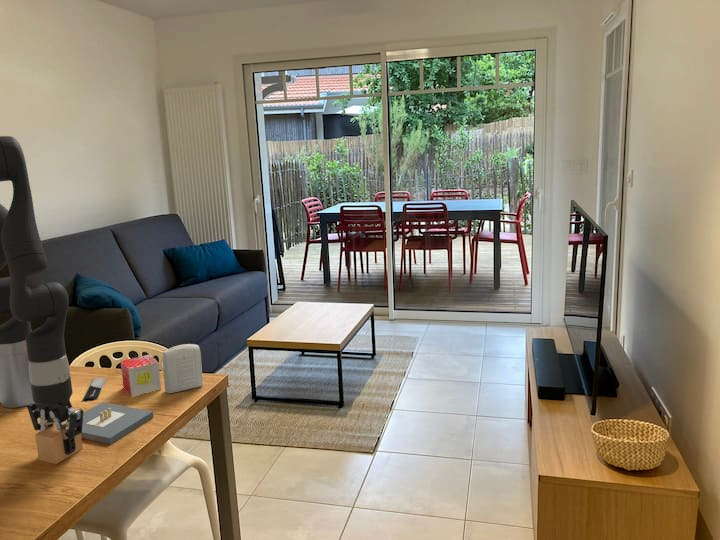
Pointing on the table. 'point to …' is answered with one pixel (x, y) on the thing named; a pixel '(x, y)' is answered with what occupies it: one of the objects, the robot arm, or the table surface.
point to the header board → (112, 422)
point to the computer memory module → (94, 389)
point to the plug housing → (54, 445)
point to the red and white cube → (140, 375)
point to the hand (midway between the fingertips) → (60, 450)
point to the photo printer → (182, 368)
